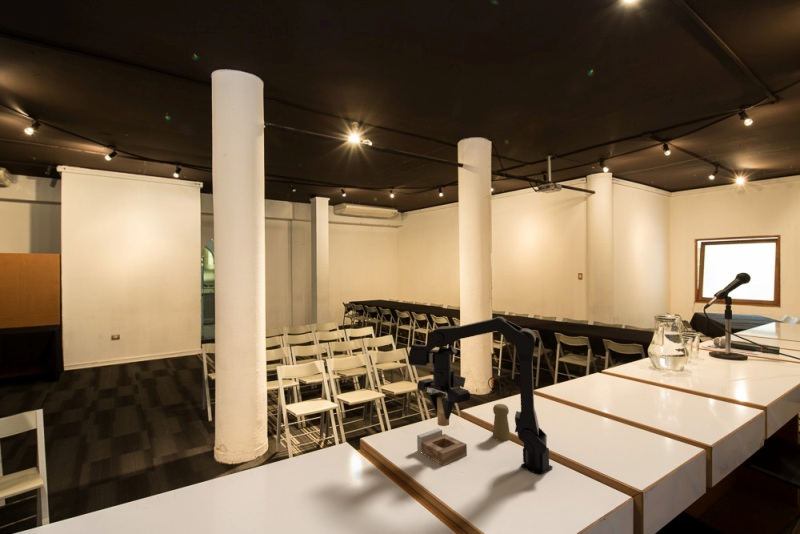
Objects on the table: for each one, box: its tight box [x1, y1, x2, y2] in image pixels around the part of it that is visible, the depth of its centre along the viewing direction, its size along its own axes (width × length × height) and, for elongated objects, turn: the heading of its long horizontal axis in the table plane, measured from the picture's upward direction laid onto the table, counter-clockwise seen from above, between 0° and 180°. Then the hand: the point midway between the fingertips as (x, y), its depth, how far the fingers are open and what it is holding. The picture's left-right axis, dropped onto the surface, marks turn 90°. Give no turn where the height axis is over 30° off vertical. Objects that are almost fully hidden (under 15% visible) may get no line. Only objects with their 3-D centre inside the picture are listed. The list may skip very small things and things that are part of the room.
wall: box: [416, 427, 443, 453], centre depth 127 cm, size 2×9×5 cm, turn 126°
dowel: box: [436, 395, 450, 427], centre depth 123 cm, size 4×4×8 cm
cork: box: [492, 403, 512, 442], centre depth 134 cm, size 6×6×11 cm
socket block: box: [421, 433, 468, 466], centre depth 123 cm, size 10×10×4 cm
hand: (443, 417), depth 123 cm, fingers closed on dowel, 4 cm apart
